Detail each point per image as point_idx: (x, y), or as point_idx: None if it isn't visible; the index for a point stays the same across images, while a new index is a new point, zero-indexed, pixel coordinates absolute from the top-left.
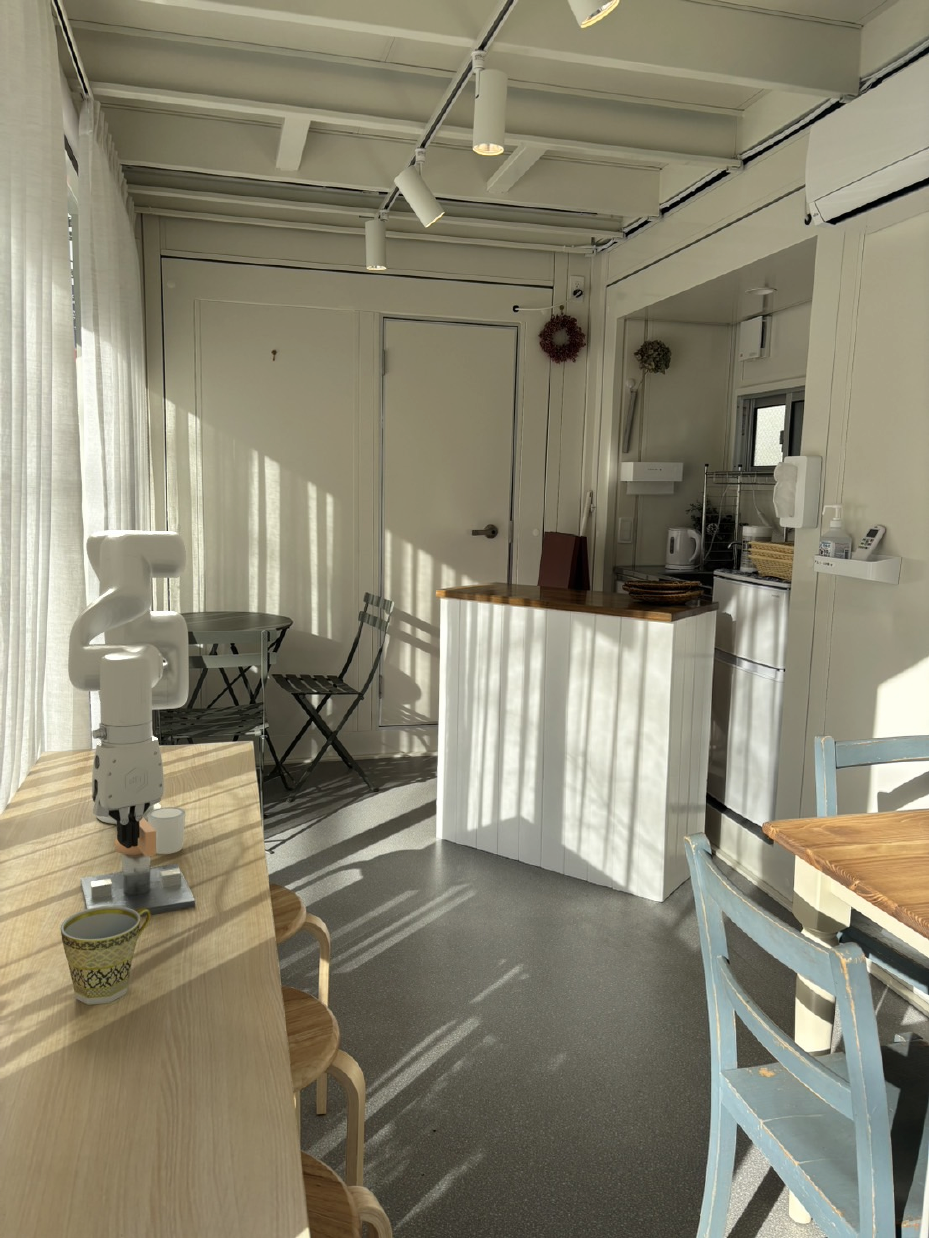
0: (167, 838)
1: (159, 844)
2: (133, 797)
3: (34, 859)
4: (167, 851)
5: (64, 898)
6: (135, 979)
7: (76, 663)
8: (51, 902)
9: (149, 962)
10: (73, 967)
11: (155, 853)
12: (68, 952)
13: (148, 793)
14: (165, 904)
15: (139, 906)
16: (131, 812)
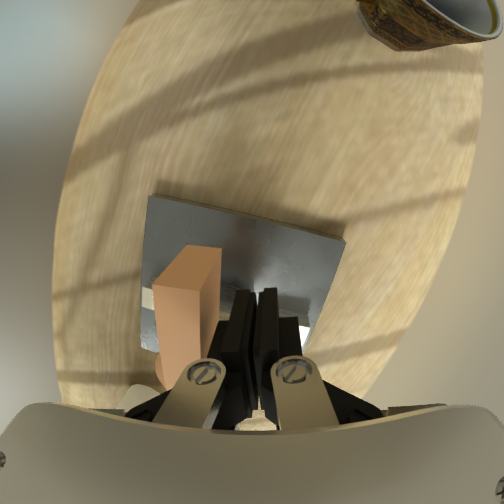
0: (141, 402)
1: None
2: (242, 502)
3: None
4: (148, 389)
5: (328, 349)
6: (343, 15)
7: None
8: (348, 346)
9: (307, 41)
10: (454, 10)
11: (187, 247)
12: (474, 3)
13: (81, 469)
14: (202, 209)
15: (249, 231)
16: (227, 422)
